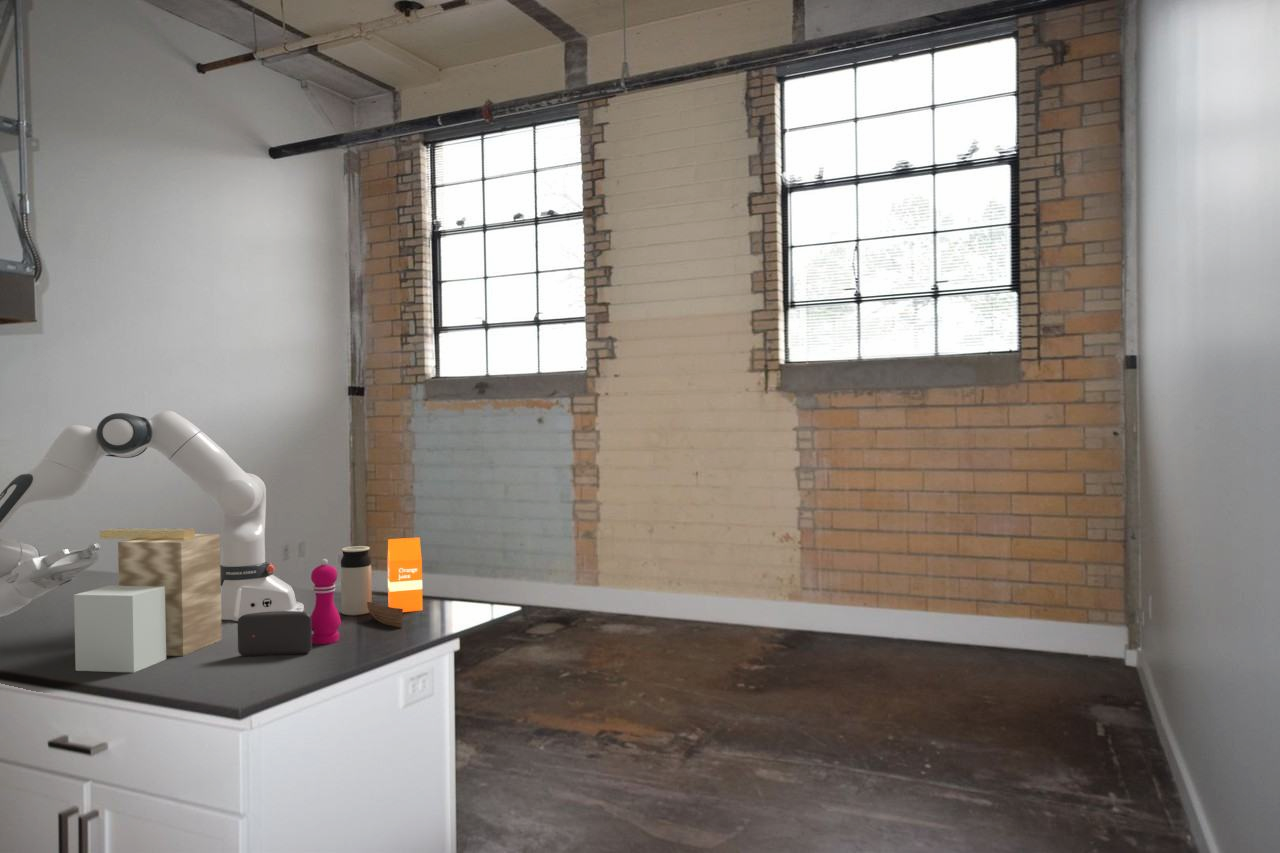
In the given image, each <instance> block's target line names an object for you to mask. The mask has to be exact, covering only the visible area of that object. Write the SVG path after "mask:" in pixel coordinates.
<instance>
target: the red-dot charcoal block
mask: <svg viewBox="0 0 1280 853" xmlns="http://www.w3.org/2000/svg"><path fill="white" fill-rule="evenodd" d="M312 634H313V631H312V623H311V614H310V613H308V612H307V611H306V612H305V611H303V612H299V611H273V612H260V613H252V614H246V615H243V616H241V617H240V618H239V619H238V621H237V650H238V652H237V653H238V654H240V655H241V656H243V657H260V656H283V655H284V656H286V655H306V654H308V653H310V652H311V651H312V649H313V643H312Z"/></svg>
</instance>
